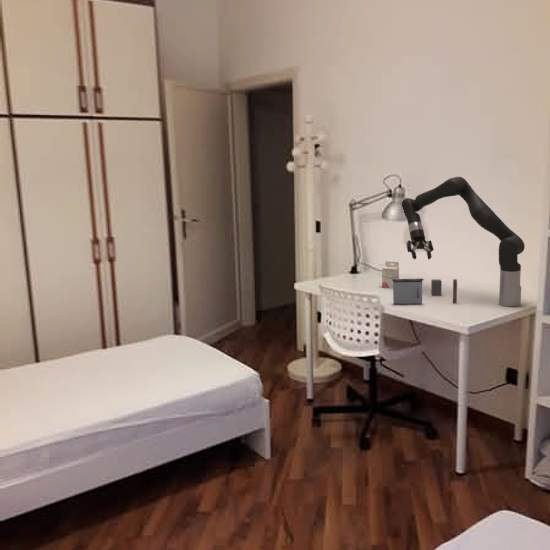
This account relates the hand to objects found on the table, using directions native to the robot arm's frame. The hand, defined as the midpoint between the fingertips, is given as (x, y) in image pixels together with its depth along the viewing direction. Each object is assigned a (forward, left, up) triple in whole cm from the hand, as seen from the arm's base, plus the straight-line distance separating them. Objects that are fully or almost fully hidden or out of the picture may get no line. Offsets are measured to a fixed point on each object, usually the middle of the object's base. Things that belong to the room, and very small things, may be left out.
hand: (422, 258), depth 308 cm
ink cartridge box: (+16, -15, -19) cm, 29 cm away
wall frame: (+2, +22, -19) cm, 29 cm away
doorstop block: (-7, +4, -19) cm, 21 cm away
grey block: (+10, +24, -19) cm, 32 cm away
